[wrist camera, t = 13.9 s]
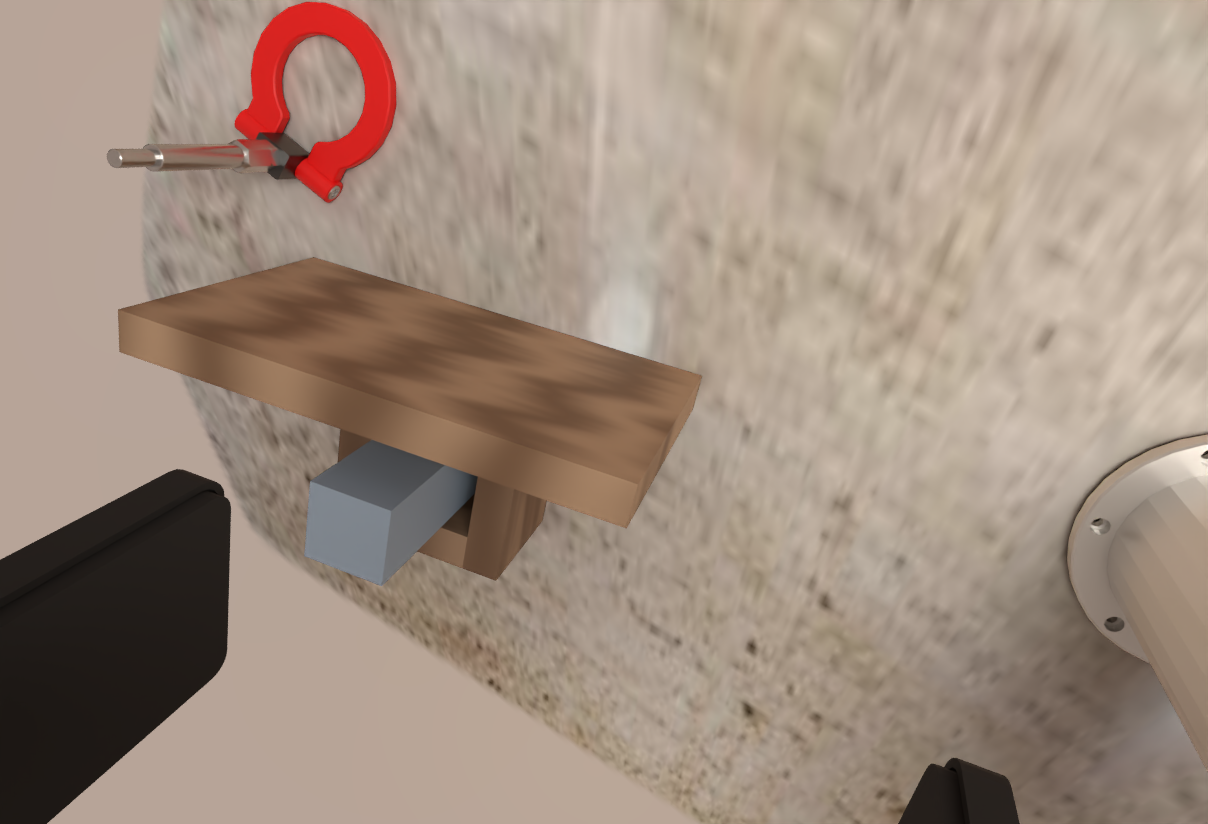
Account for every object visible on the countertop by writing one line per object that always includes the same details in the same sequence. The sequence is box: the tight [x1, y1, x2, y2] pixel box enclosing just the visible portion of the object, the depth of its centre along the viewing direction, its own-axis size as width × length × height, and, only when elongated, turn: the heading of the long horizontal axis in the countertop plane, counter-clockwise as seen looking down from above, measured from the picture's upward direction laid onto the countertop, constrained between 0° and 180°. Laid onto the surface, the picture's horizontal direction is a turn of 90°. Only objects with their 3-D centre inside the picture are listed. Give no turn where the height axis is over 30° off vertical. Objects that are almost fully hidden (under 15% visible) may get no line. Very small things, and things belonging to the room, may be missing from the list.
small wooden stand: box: [118, 257, 702, 581], centre depth 42 cm, size 24×12×14 cm, turn 77°
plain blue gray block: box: [304, 440, 478, 586], centre depth 41 cm, size 4×4×12 cm
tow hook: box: [107, 2, 396, 203], centre depth 38 cm, size 8×13×9 cm
